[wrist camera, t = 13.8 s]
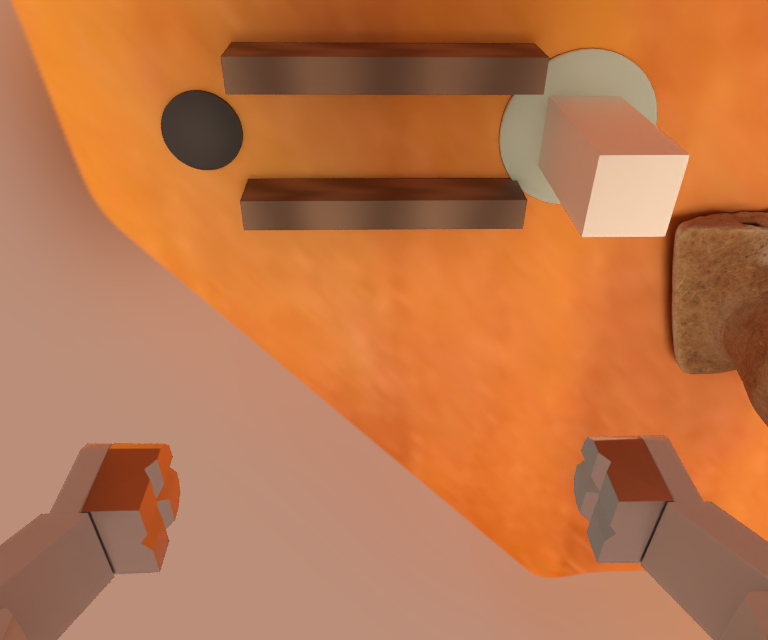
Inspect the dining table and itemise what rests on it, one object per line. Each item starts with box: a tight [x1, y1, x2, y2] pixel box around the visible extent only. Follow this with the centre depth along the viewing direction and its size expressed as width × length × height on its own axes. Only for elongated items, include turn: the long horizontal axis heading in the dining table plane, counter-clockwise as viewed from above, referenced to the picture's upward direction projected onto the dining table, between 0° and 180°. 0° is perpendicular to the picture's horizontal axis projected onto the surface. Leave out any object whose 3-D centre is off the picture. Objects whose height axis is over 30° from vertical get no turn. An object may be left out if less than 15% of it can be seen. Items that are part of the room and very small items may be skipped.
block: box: [538, 96, 690, 237], centre depth 36 cm, size 4×4×10 cm
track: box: [221, 42, 549, 230], centre depth 38 cm, size 18×10×4 cm, turn 89°
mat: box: [499, 48, 657, 204], centre depth 40 cm, size 10×10×1 cm
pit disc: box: [161, 90, 243, 170], centre depth 39 cm, size 5×5×1 cm
